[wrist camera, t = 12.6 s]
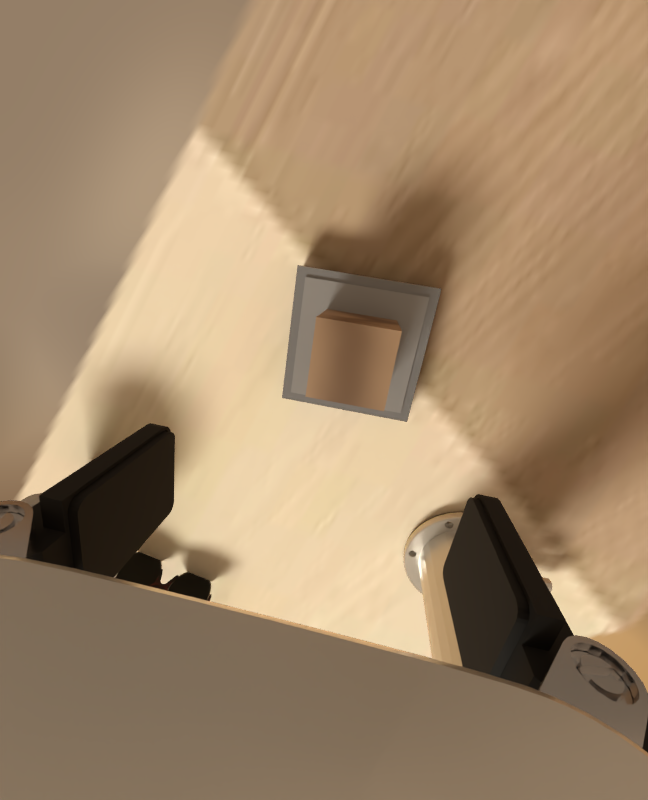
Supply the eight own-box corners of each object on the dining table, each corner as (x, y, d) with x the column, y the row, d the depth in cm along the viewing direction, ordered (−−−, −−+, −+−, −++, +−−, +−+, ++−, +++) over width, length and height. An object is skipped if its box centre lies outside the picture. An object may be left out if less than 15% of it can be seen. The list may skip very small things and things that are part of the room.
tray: (436, 287, 31) (441, 288, 28) (404, 412, 35) (407, 422, 33) (303, 265, 32) (297, 265, 29) (288, 389, 36) (281, 398, 34)
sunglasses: (224, 581, 47) (206, 617, 43) (200, 647, 54) (183, 684, 49) (128, 542, 47) (101, 574, 42) (116, 613, 54) (91, 646, 49)
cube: (396, 320, 30) (401, 331, 24) (382, 387, 32) (384, 411, 26) (327, 308, 30) (316, 316, 25) (317, 375, 32) (305, 396, 27)
